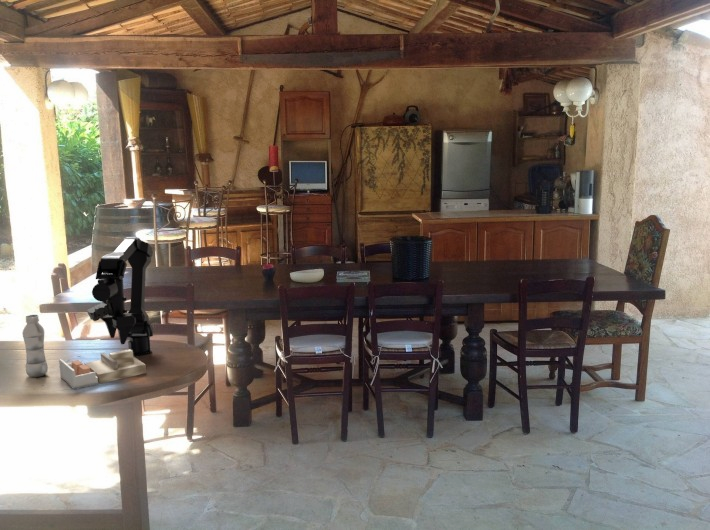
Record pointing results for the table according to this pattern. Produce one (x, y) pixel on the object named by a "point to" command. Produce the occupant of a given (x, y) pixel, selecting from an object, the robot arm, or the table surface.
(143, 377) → the table surface
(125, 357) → the scraper
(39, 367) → the plastic bottle
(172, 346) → the table surface
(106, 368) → the board
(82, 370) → the tile
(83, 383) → the box
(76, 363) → the tile
